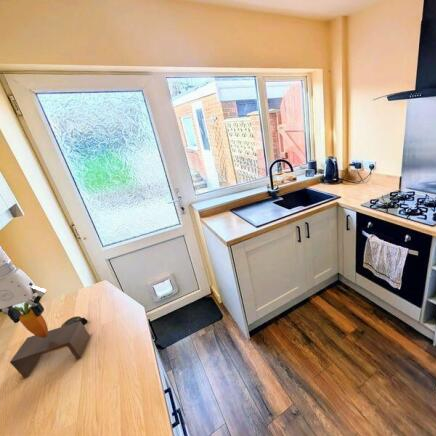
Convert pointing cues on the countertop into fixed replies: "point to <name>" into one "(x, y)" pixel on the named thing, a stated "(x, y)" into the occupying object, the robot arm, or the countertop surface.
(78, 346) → the dark brown riser stand
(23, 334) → the countertop surface
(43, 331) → the carrot
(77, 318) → the tape measure
